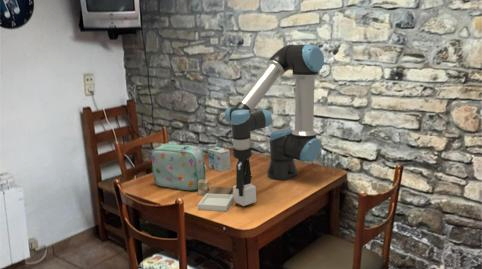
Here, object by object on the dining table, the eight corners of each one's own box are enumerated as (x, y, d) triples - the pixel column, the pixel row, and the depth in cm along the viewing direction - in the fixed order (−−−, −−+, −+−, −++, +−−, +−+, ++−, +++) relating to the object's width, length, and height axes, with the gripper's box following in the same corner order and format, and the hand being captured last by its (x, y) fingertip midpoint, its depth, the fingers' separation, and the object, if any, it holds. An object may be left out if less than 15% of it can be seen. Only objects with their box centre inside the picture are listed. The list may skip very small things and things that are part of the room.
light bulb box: (208, 168, 244) (207, 148, 241) (218, 165, 248) (217, 146, 246) (221, 172, 236) (220, 152, 234) (231, 169, 241) (230, 149, 238)
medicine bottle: (256, 201, 191) (255, 175, 188) (243, 206, 187) (241, 179, 184) (246, 197, 197) (245, 171, 194) (233, 201, 193) (231, 175, 190)
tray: (234, 200, 198) (233, 194, 198) (226, 211, 186) (226, 205, 186) (206, 198, 201) (206, 193, 200) (197, 209, 189) (197, 204, 189)
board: (232, 192, 208) (232, 187, 208) (228, 199, 201) (228, 194, 200) (212, 191, 210) (211, 186, 210) (207, 198, 203) (206, 193, 202)
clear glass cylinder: (209, 192, 209) (208, 180, 207) (206, 195, 205) (206, 182, 203) (201, 191, 210) (200, 179, 208) (198, 195, 206) (197, 182, 204)
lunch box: (210, 186, 217) (208, 143, 212) (200, 193, 208) (197, 148, 203) (163, 180, 228) (160, 139, 222) (152, 187, 218) (148, 144, 213)
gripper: (239, 140, 198) (242, 187, 203) (226, 155, 177) (229, 208, 182) (256, 140, 196) (258, 188, 201) (244, 155, 175) (247, 209, 180)
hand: (244, 197), depth 192 cm, fingers closed on medicine bottle, 10 cm apart
